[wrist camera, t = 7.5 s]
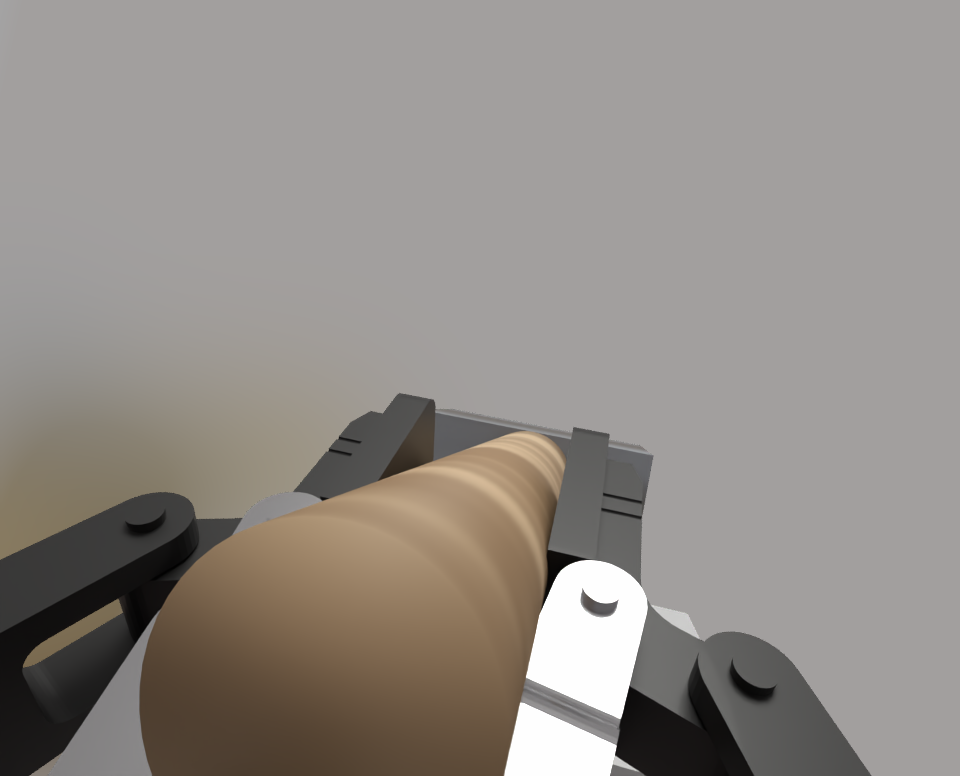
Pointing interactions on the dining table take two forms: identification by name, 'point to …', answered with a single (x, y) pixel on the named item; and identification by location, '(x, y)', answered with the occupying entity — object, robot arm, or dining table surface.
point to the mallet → (368, 620)
